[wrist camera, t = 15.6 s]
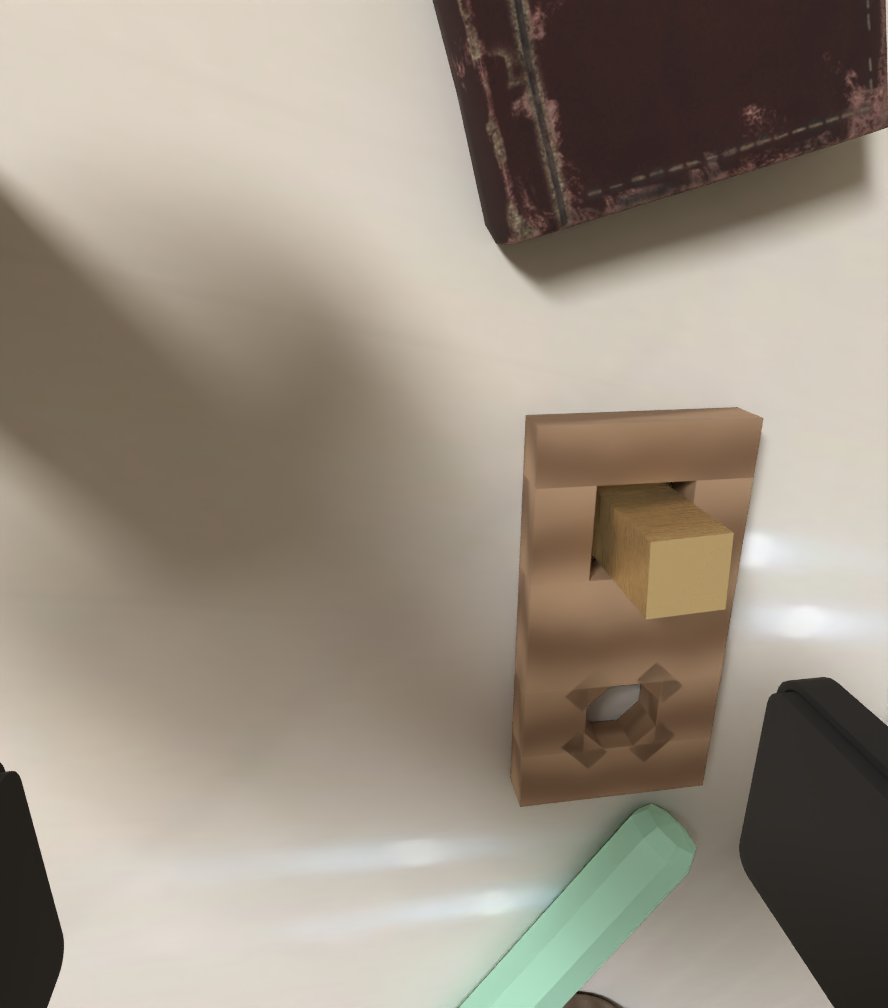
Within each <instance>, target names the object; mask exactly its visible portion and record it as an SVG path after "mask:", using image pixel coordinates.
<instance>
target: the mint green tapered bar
mask: <svg viewBox="0 0 888 1008" xmlns="http://www.w3.org/2000/svg"><path fill="white" fill-rule="evenodd" d="M696 848H697V847H696V845H695V844H694V842H693V841H692V839H691V837H690V836H689V834H688V833H687V831H686V829H685V828H684V827H683V826H681V825H680V824H679V823H678V822H677V821H676V820H675V819H674V818H673V817H672V816H671V815H670V814H669V813H668V812H667V811H665V810H663V809H661V808H659V807H658V806H656V805H654V804H652V803H651V804H649V805H646V806H643V807H641V808H639V809H637V810H635V812H634V813H633V814H632V815H631V816H630V817H629V818H628V819H627V821H626V822H625V823H624V824H623V825H622V826H621V827H620V828H619V829H618V831H617V832H616V833H615V834H614V835H613V836H612V837H611V838H610V839H609V841H608V842H607V843H606V844H605V845H604V846H603V847H602V848H601V849H600V851H599V852H598V853H597V854H596V855H595V856H594V857H593V858H592V860H591V861H590V862H589V863H588V864H587V865H586V866H585V867H584V868H583V870H582V871H581V872H580V873H579V874H578V875H577V876H576V877H575V878H574V880H573V881H572V882H571V883H570V884H569V885H568V886H567V887H566V888H565V890H564V891H563V892H562V893H561V894H560V895H559V896H558V897H557V899H556V900H555V901H554V902H553V903H552V904H551V905H550V906H549V907H548V909H547V910H546V911H545V912H544V913H543V914H542V915H541V916H540V917H539V919H538V920H537V921H536V922H535V923H534V924H533V925H532V926H531V928H530V929H529V930H528V931H527V932H526V933H525V934H524V935H523V936H522V938H521V939H520V940H519V941H518V942H517V943H516V944H515V945H514V946H513V948H512V949H511V950H510V951H509V952H508V953H507V954H506V955H505V957H504V958H503V959H502V960H501V961H500V962H499V963H498V964H497V965H496V967H495V968H494V969H493V970H492V971H491V972H490V973H489V974H488V975H487V977H486V978H485V979H484V980H483V981H482V982H481V983H480V984H479V986H478V987H477V988H476V989H475V990H474V991H473V992H472V993H471V994H470V996H469V997H468V998H467V999H466V1000H465V1001H464V1002H463V1003H462V1005H461V1006H460V1007H459V1008H562V1007H563V1006H564V1005H565V1004H566V1003H567V1002H568V1001H569V1000H570V999H571V998H572V997H573V996H574V994H575V993H576V992H577V991H578V990H579V989H580V988H581V987H582V986H583V985H584V984H585V983H586V982H587V981H588V980H589V978H590V977H591V976H592V975H593V974H594V973H595V972H596V971H597V970H598V969H599V968H600V967H601V966H602V965H603V964H604V962H605V961H606V960H607V959H608V958H609V957H610V956H611V955H612V954H613V953H614V952H615V951H616V950H617V949H618V948H619V946H620V945H621V944H622V943H623V942H624V941H625V940H626V939H627V938H628V937H629V936H630V935H631V934H632V933H633V932H634V930H635V929H636V928H637V927H638V926H639V925H640V924H641V923H642V922H643V921H644V920H645V919H646V918H647V917H648V916H649V914H650V913H651V912H652V911H653V910H654V909H655V908H656V907H657V906H658V905H659V904H660V903H661V902H662V901H663V900H664V898H665V897H666V896H667V895H668V894H669V893H670V892H671V891H672V890H673V889H674V888H675V887H676V886H677V885H678V884H679V882H680V881H681V880H682V879H683V878H684V877H685V876H686V875H687V874H688V872H689V870H690V867H691V865H692V862H693V859H694V855H695V852H696Z"/></svg>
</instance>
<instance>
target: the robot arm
mask: <svg viewBox="0 0 888 1008" xmlns="http://www.w3.org/2000/svg"><path fill="white" fill-rule="evenodd" d="M739 851H740V858H741V862H742V865H743V868H744V870H745V872H746V874H747V876H748V877H749V879H750V880H751V882H752V883H753V885H754V887H755V888H756V890H757V891H758V893H759V894H760V896H761V897H762V899H763V900H764V902H765V903H766V905H767V906H768V908H769V909H770V911H771V912H772V914H773V915H774V917H775V918H776V920H777V921H778V923H779V924H780V926H781V928H782V929H783V931H784V932H785V934H786V935H787V937H788V938H789V940H790V941H791V943H792V944H793V946H794V947H795V949H796V950H797V952H798V953H799V955H800V956H801V958H802V959H803V961H804V962H805V964H806V965H807V967H808V968H809V970H810V972H811V973H812V975H813V976H814V978H815V979H816V981H817V982H818V984H819V985H820V987H821V988H822V990H823V991H824V993H825V994H826V996H827V997H828V999H829V1000H830V1002H831V1003H832V1005H833V1006H834V1008H888V726H887V725H886V724H884V723H883V722H882V721H881V720H880V719H879V718H878V717H876V716H875V715H874V714H873V713H872V712H871V711H870V710H868V709H867V708H866V707H865V706H864V705H863V704H862V703H860V702H859V701H858V700H857V699H856V698H855V697H853V696H852V695H851V694H850V693H849V692H848V691H847V690H845V689H844V688H843V687H842V686H841V685H840V684H839V683H837V682H836V681H834V680H833V679H831V678H826V677H820V678H810V679H800V680H790V681H786V682H783V683H782V684H781V685H780V686H779V688H778V690H777V693H775V694H772V695H771V696H770V697H769V700H768V703H767V707H766V712H765V717H764V722H763V727H762V732H761V737H760V743H759V748H758V753H757V758H756V763H755V768H754V773H753V778H752V783H751V788H750V793H749V798H748V803H747V808H746V813H745V818H744V824H743V829H742V834H741V839H740V845H739ZM63 953H64V939H63V933H62V930H61V926H60V922H59V918H58V915H57V911H56V907H55V904H54V900H53V896H52V892H51V889H50V885H49V881H48V878H47V874H46V870H45V867H44V863H43V859H42V855H41V852H40V848H39V844H38V841H37V837H36V833H35V829H34V826H33V822H32V818H31V815H30V811H29V807H28V803H27V800H26V796H25V792H24V789H23V785H22V781H21V779H20V776H19V774H18V773H17V772H15V771H8V772H5V769H4V767H3V765H2V764H1V763H0V1008H47V1006H48V1004H49V1001H50V998H51V995H52V993H53V990H54V987H55V984H56V982H57V979H58V976H59V973H60V970H61V966H62V961H63Z"/></svg>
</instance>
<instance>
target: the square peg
mask: <svg viewBox="0 0 888 1008" xmlns="http://www.w3.org/2000/svg"><path fill="white" fill-rule="evenodd" d="M733 535H734V533H733V532H732V531H731V530H729V529H728V528H727V527H725V526H724V525H722V524H721V523H720V522H718V521H717V520H716V519H714V518H713V517H711V516H710V515H709V514H707V513H706V512H704V511H703V510H702V509H700V508H699V507H698V506H696V505H695V504H693V503H692V502H691V501H689V500H688V499H687V498H685V497H684V496H682V495H681V494H680V493H678V492H677V491H675V490H674V489H673V488H671V487H670V486H669V485H667V484H666V483H664V482H661V483H642V484H623V485H604V486H597V490H596V503H595V515H594V527H593V539H592V551H591V554H592V556H593V557H594V558H595V559H596V560H597V562H598V563H599V564H600V565H601V566H602V568H603V569H604V570H605V571H606V572H607V574H608V575H609V576H610V577H611V578H612V580H613V581H614V582H615V583H616V584H617V586H618V587H619V588H620V589H621V590H622V592H623V593H624V594H625V595H626V596H627V598H628V599H629V600H630V601H631V602H632V603H633V605H634V606H635V607H636V608H637V609H638V611H639V612H640V613H641V614H642V615H643V617H644V618H645V619H654V618H662V617H670V616H678V615H685V614H693V613H701V612H709V611H717V610H724V609H726V600H727V590H728V581H729V572H730V563H731V554H732V545H733Z"/></svg>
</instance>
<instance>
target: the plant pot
mask: <svg viewBox="0 0 888 1008" xmlns="http://www.w3.org/2000/svg"><path fill="white" fill-rule="evenodd" d="M562 1008H616V1007H615V1006H614V1005H612V1004H611V1003H609V1002H608V1001H606V1000H603V999H601V998H598V997H595V996H591V995H585V994H574V996H573V997H572V998H571V999H570V1000H569V1001H568V1002H567V1003H566V1004H565V1005H564V1006H563V1007H562Z"/></svg>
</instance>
